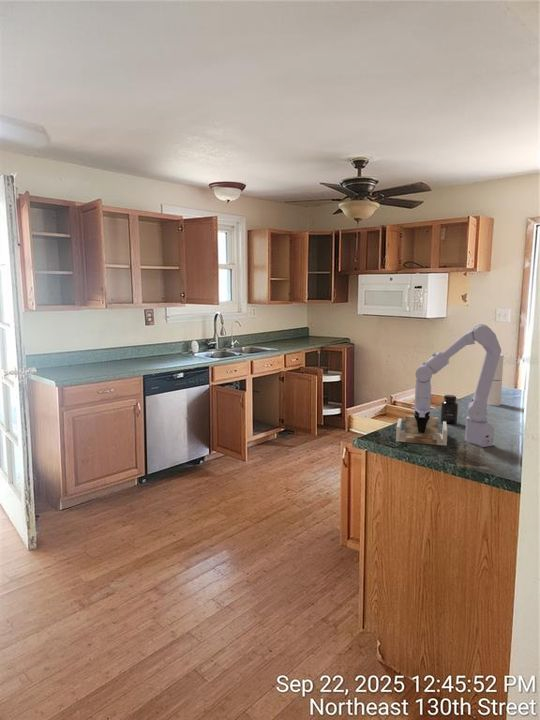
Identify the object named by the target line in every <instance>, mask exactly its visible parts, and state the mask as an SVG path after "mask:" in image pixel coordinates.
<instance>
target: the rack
mask: <svg viewBox="0 0 540 720" xmlns="http://www.w3.org/2000/svg"><path fill="white" fill-rule="evenodd" d="M402 420H403V419H402V418H397V424H396V430H395V431H396V432H395V433H396V434H395V441H396V442H402V443H407V442H406V437H407V435H409V436H415V434H414V433H405V430H403V429H402ZM447 425H448V424H446V422H445V421H443V424H442V431H441V432H442V433H441V432H438V435H433V439H434V440H437V444H435V445H438V446H447V445H448V443H447V442H448V426H447ZM422 435H427V434H422ZM412 443H415V442H412ZM424 444H425V445H427V444H426V443H423V445H424Z"/></svg>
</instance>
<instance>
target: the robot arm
mask: <svg viewBox="0 0 540 720" xmlns="http://www.w3.org/2000/svg"><path fill="white" fill-rule="evenodd" d="M476 343H478V344H479V345H481V346H482V348H483V349H484V351H485V356H484V359H483V363H482V366H481V370H480V373H479V377H478V380H477V384H476V387H475V390H474V393H473V396H472V398H471V400H470V401H469V402H468V403H467V408H466V409H467V413H468V415H467V416H466V417H465V429H464V430H465V432H464V433H465V435H464V441H465V442H467V443H469V444H470V443H471V444H473V445H476V446H479V447H482V448H486V447H492V446H495V443H494V432H495V431H494V430H495V429H494V426H493V424H491V423H489V422H488V418H487V417H488V416H487V415H488V410H487V407H488V405H487V401H488V395H489V392H490V388H491V385H492V382H493V378H494V375H495V371H496V368H497V364H498V361H499V358H500V354H502V347H501V346H500V343H499V340H498V338H497V335H496V333H495V332H494V331H493V330H492V329H491V328H490V327H489V326H488V325H486V324H483V323H482V324H481V323H480V324H478V325H475V327H473V329H472V328H471V329H470V330H468V331H467V332H465V333H464V334H462V335H461V336H460V337H459V338H458V339H457V340H456V341H454V342H453V343H452V344H451V345H450V346H448V348H446V349H445V350H444V351H437V352H433V353H432V354H431V357H429V359H428V360H426V361H422V365H419V366H418V367H417V369H416V371H415V378H416V380H415V388H414V389H415V390H414V406H411V410H413V411H414V414H413V416H414V417H415V419H416V421H417V426H418V432H419V433H424V432H425V429H426V424H427V422H428V420H429V418H430V417H431V415H430V413H431V410H432V409H431V399H432V384H431V382H432V381H431V379H432V377H433V375H435V374H437V373H438V372H440V371H441V370H443V368H445V367H447V365H448V364H450V363H449V362H450V361H449V360H450V359H451V358H452V357H453V356H454V355H456V354H457V353H458V352H459V351H461V350H462V349H463V348H465V347H466V346H469V345H476Z"/></svg>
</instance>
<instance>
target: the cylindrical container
mask: <svg viewBox="0 0 540 720" xmlns="http://www.w3.org/2000/svg"><path fill="white" fill-rule="evenodd" d="M503 369H504V354H502V353H501V354H500V358H499V361H498V364H497V368H496V371H495V375H494V378H493V382H492V385H491V388H490V392H489V395H488V401H487V404H488V405H487V406H492V405H494V407H497V406H501V403H502V387H503V372H504V370H503Z"/></svg>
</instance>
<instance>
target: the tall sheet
mask: <svg viewBox="0 0 540 720" xmlns="http://www.w3.org/2000/svg"><path fill="white" fill-rule="evenodd" d="M439 421H440V420H439V417H434V416H430V418H429V420H428V422H427V424H426V429H425V432H424V433H419V432H418V426H417V421H416V419H415V417H414V415H407V414H406V416H405V433H414V434H427V435H438V433H439Z"/></svg>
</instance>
